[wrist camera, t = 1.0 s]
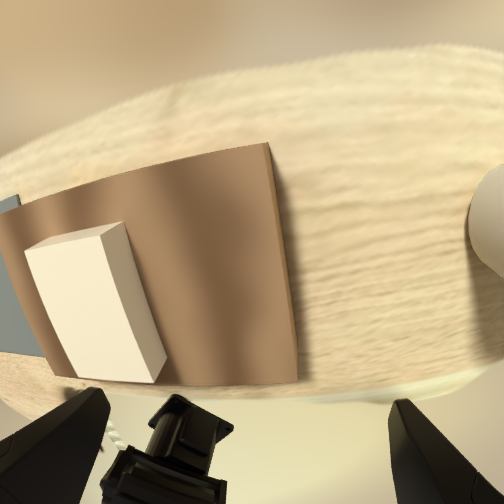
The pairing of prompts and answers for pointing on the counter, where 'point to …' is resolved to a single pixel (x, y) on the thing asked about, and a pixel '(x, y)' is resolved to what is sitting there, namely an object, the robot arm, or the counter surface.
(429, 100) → the counter surface
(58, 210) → the block
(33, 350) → the mat
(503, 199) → the can
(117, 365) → the tile
